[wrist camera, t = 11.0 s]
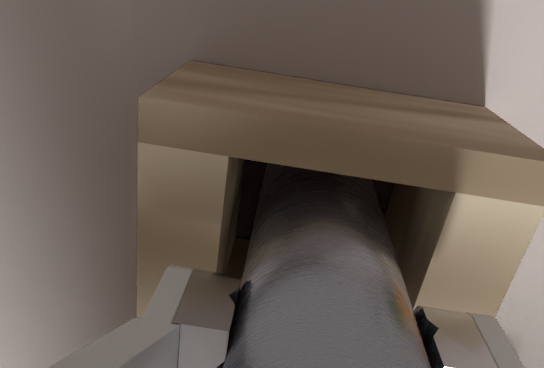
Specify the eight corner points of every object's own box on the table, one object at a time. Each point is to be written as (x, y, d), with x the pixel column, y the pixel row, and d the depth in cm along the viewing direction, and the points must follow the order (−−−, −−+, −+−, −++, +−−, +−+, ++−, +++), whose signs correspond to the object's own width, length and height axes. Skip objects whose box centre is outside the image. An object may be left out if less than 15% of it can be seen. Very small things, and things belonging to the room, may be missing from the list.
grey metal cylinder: (356, 240, 15) (418, 572, 7) (256, 223, 15) (193, 534, 7) (383, 146, 14) (507, 426, 5) (271, 127, 14) (214, 376, 5)
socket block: (190, 60, 13) (137, 97, 9) (485, 107, 13) (567, 165, 9) (172, 366, 19) (135, 474, 15) (379, 400, 19) (399, 517, 15)
